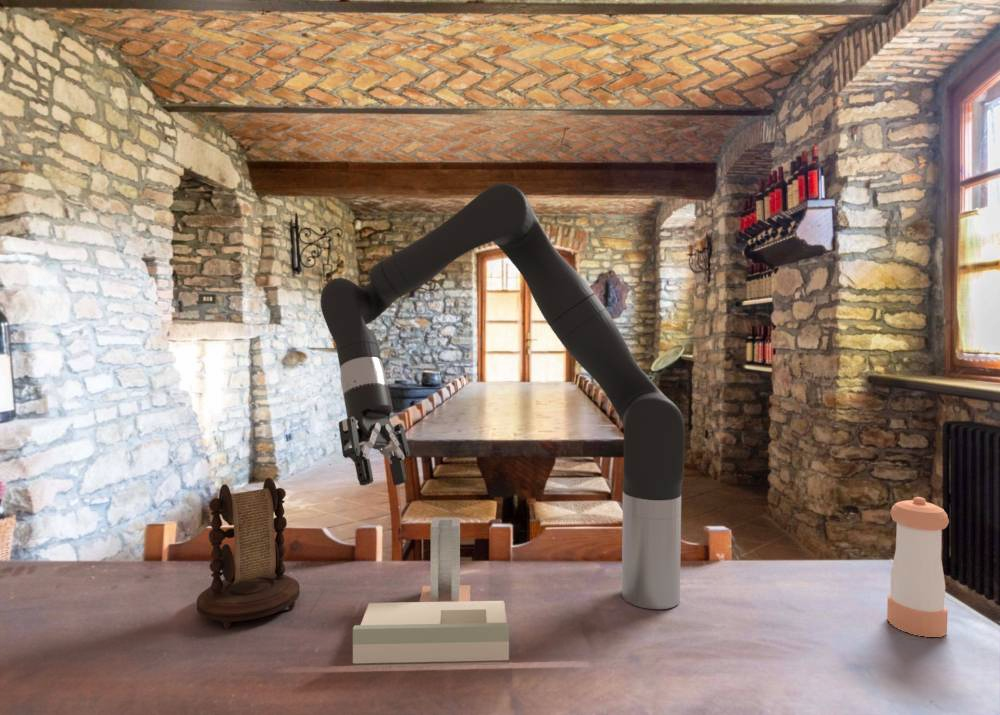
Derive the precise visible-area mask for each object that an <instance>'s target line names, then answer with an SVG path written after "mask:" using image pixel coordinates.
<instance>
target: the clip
mask: <svg viewBox="0 0 1000 715" xmlns="http://www.w3.org/2000/svg"><path fill="white" fill-rule="evenodd" d="M460 540H461V518H460V517H433V518H432V519H431V523H430V586H431V602H438V599H439V593H452V598H451V602H458V601H459V593H460V585H461V584H460V582H461V580H460V579H461V578H460V577H461V576H460V575H461V574H460V573H461V571H460V570H461V569H460V568H461V565H460V563H461V559H460V558H461V550H460V549H461V545H460V544H461V541H460Z"/></svg>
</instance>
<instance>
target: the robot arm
mask: <svg viewBox="0 0 1000 715" xmlns="http://www.w3.org/2000/svg"><path fill="white" fill-rule="evenodd" d="M534 211H535V210H534V208H533V207H532V205H531V203H530V202H529V200H528V199H527V197H526V195H525V194H524V193H523V191H522V190H521V189H519V188H518V187H516V186H515V185H513V184H509V183H496V184H492V185H491V186H489V187H487V188H486V189H485V190H483V191H482V192H480V193H479V194H478V195H477V196H475V197H474V198H473V199H472V200H471V201H470V202H468V203H467V204H466V205H465V206H464V207H462V208H461V209H460V210H459V211H458V212H457V213H455V214H454V215H452V216H451V217H449V218H448V219H447V220H445V221H444V222H443V223H441V224H440V225H439V226H437V227H436V228H435V229H433V230H431V231H430V232H428V233H427V234H425V235H424V236H422V237H420V238H419V239H417V240H415V241H414V242H412V243H410V244H409V245H407V246H405V247H404V248H402V249H400V250H398V251H396V252H395V253H393V254H391V255H390V256H388V257H386V258H384V259H383V260H381V261H379V262H377V263H375V265H373V266H372V267H371V268H370V270H369V274H368V275H369V276H368V277H369V280H370V281H369V282H368V283H367V284H366V285H364V286H363V287H361V286H359V285H358V284H356V283H355V282H353V281H351V280H350V279H348V278H344V277H337V278H336V277H335V278H333V279H331V280H329V281H328V282H327V283H326V284H325V285H324V286H323V288H322V290H321V295H320V309H321V312H322V313H321V314H322V316H323V319H324V322H325V323H326V326H327V328H328V331H329V333H330V335H331V338H332V339H333V342H334V344H335V346H336V352H337V353H336V354H337V360H338V363H339V365H338V366H339V372H340V384H341V390H342V396H343V401H344V406H345V411H346V418H345V419H343V420H340V421H339V422H338V428H339V429H338V430H339V436H340V437H339V438H340V444H341V451H342V456H343V458H345V459H348V458H349V459H351V461H352V462H353V463H354V466H355V471H356V476H357V478H356V479H357V480H358V484H359V485H360V486H367V485H370V484H372V483H373V482H374V477H373V471H372V464H371V460H370V458H368V457H369V455H370V452H371V450H372V449H373V450H378V452H379V453H380V455H384V456H385V457H386V459H387V461H388V462H389V469H390V473H391V479H392V483H393V486H400V485H403V484H405V483H406V481H407V475H406V471H405V465H404V460H405V459H406V458H409V457H410V456H411V452H410V448H409V444H408V440H407V436H406V431H405V428H404V425H403V423H401V422H399V423H398V424H392V422H391V419H390V416H391V414H392V412H393V411H394V408H393V403H392V398H391V392H390V389H389V388H390V387H389V383H388V379H387V374H386V371H385V368H384V365H383V362H382V357H381V356H382V355H381V352H380V347H379V343H378V340H377V337H376V335H375V333H374V332H373V331H372V330H371V329H370V328H369V327H368V326H367V325H369V324H371V323H372V322H374V321H375V320H376V319H378V318H379V317H380V316H381V315H382V314H383V313H384V312H385V311H386V310H387V309H388V308H390V306H392V305H393V304H394V302H395V301H396V300H399V299H400V298H402V297H403V296H406V295H408V294H409V293H411V292H413V291H415V290H416V289H418V288H419V287H421V286H423V285H425V284H426V283H428V282H429V281H431V280H432V279H433V278H434V277H436V276H437V275H439V274H440V273H441V272H442V271H443V270H445V268H447V267H448V266H449V265H450V264H451V263H453V262H454V261H456V260H457V259H459V258H460V257H462V256H463V255H464V254H467V253H469V252H471V251H472V250H474V249H477V248H479V247H482V246H484V245H487V244H489V243H490V244H491V243H494V244H495V245H496V246H497V247H498V249H500V250H501V252H502V253H504V255H505V256H506V257H507V258H508V260H510V262H511V263H512V264H513V265H514V267H516V269H517V270H518V271H519V273H520V275H521V276H522V278H523V279H524V281H525V283H526V284H527V287H528V289H529V291H530V294H531V295H532V298H533V300H534V302H535V303H536V306H537V307H538V309H539V311H540V313H541V315H542V316H543V318H544V319H545V322H546V323H547V325H548V326H549V327H550V329H551V331H553V333H554V335H555V336H556V337H557V339H558V340H559V342H560V343H561V345H563V347H564V348H565V349H566V351H568V353H569V354H570V356H571V357H572V358H574V360H575V361H576V362H577V363H578V364H579V365H580V367H582V368H583V370H584V371H586V373H588V374H589V376H591V377H592V379H594V381H595V382H596V383H597V384H598V385H599V386H600V388H601V389H602V391H603V393H604V394H605V395H606V398H608V401H609V402H610V404H611V406H612V407H613V408H614V411H615V412H616V414H617V416H618V418H619V420H620V421H621V424H622V426H623V472H622V474H623V475H622V529H621V530H622V534H621V535H622V536H621V537H622V539H621V540H622V542H621V543H622V544H621V545H622V546H621V551H622V552H621V596H622V598H623V599H624V601H626V602H628V603H629V604H631V605H633V606H636V607H638V608H643V609H649V610H666V609H671V608H674V607H676V606H678V605H679V603H680V600H681V553H682V552H681V551H682V550H681V545H682V543H681V541H682V486H683V480H684V472H685V470H684V469H685V468H684V467H685V444H686V443H685V440H686V439H685V438H686V437H685V434H686V432H685V431H686V430H685V420H684V417H683V414H682V412H681V410H680V409H679V407H678V406H677V405H676V404H675V403H674V402H673V401H672V400H671V399H670V398H668V397H667V396H666V395H665V394H664V393H663V392H662V391H661V390H660V389H659V387H657V385H656V384H655V383H654V382H653V381H652V379H650V377H649V376H648V374H646V373H645V372H644V371H643V369H642V367H640V365H639V364H638V362H637V361H636V359H635V358H634V356H633V354H632V353H631V350H630V349H629V347H628V345H627V342H626V340H625V339H624V336H623V334H622V333H621V331H620V329H619V328H618V326H617V323H616V322H615V320H614V319H613V317H612V316H611V315H610V313H609V311H608V310H607V309H606V307H605V305H604V304H603V303H602V301H601V300H600V299H599V297H598V296H597V295H596V294H595V292H594V291H593V289H592V287H590V285H589V284H588V283H587V282H586V280H585V279H584V278H583V277H582V276H581V274H579V273H578V272H577V271H576V269H575V268H574V267H573V265H571V264H570V263H569V262H568V261H567V260H566V259H565V258H564V257H563V256H562V255H561V254H560V253H559V251H558V250H557V249H556V247H555V246H554V245H553V243H552V241H551V239H550V238H549V237H548V234H547V233H546V231H545V229H544V228H543V226H542V224H541V223H540V221H539V219H538V217H537V215H536V213H535V212H534ZM350 442H351V447H350ZM390 443H391V444H390ZM400 446H401V447H402V449H401V448H400ZM392 452H393V453H392Z"/></svg>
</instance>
